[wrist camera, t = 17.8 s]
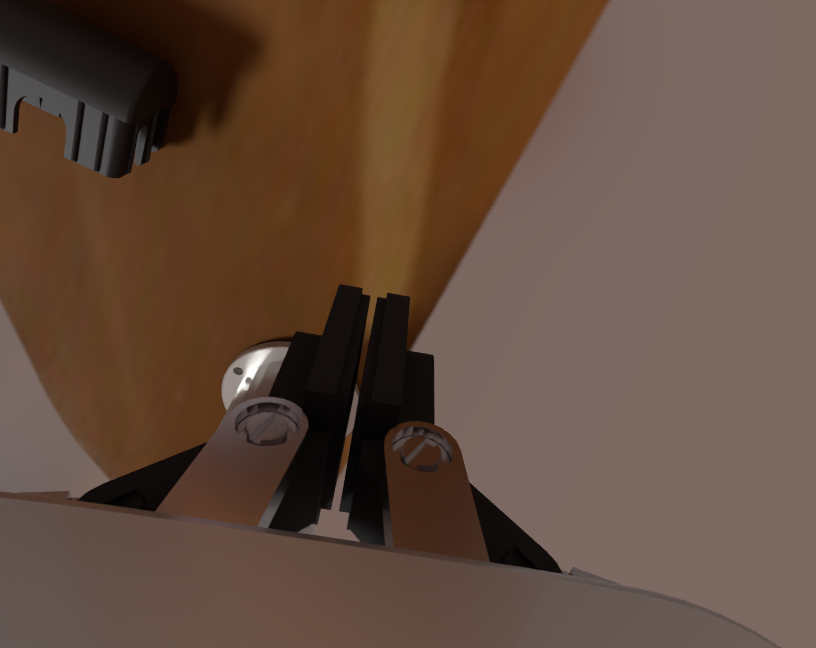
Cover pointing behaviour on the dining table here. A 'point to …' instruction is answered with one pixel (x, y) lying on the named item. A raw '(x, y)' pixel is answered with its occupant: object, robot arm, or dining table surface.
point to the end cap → (84, 85)
